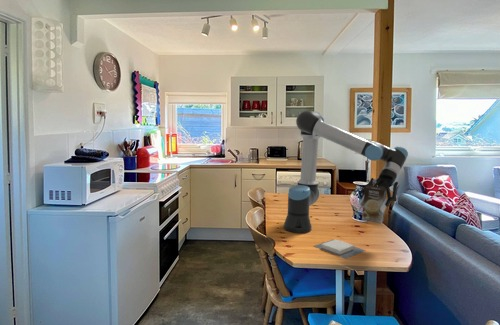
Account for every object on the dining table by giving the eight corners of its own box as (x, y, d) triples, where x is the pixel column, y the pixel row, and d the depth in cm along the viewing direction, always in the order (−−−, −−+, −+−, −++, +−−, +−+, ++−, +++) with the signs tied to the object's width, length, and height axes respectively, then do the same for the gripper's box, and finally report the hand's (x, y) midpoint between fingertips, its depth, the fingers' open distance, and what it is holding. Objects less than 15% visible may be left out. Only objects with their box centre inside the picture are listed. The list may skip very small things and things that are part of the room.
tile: (335, 243, 161) (321, 248, 154) (335, 239, 161) (321, 244, 154) (353, 249, 154) (339, 255, 147) (354, 245, 154) (340, 250, 147)
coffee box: (361, 220, 160) (363, 187, 158) (364, 217, 165) (367, 185, 163) (381, 224, 155) (384, 190, 153) (384, 220, 160) (387, 188, 158)
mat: (312, 247, 157) (313, 246, 156) (333, 240, 167) (333, 239, 167) (346, 259, 143) (346, 258, 143) (366, 251, 153) (366, 250, 153)
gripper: (414, 181, 159) (396, 218, 151) (370, 175, 176) (352, 208, 168) (410, 171, 155) (391, 208, 147) (366, 165, 172) (346, 199, 164)
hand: (370, 208), depth 157 cm, fingers closed on coffee box, 10 cm apart
